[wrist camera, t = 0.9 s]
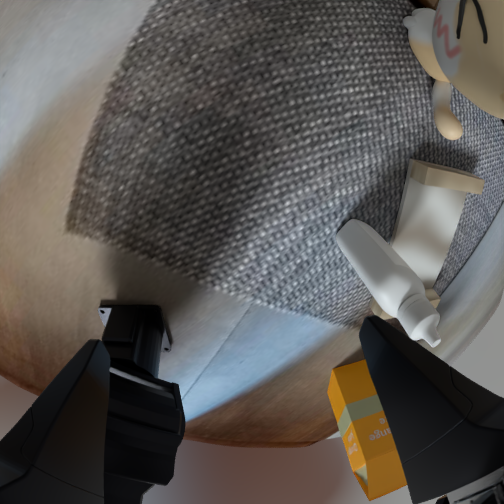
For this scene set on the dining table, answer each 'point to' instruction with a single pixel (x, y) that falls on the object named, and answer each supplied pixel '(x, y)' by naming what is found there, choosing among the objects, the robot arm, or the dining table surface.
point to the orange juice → (365, 430)
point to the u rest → (429, 220)
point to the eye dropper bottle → (389, 280)
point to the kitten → (461, 56)
